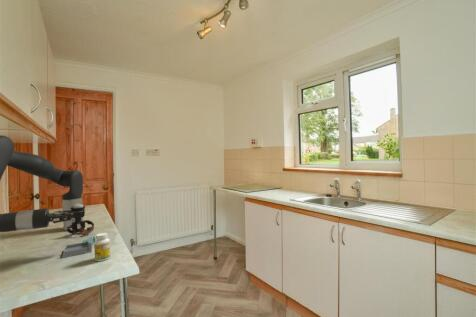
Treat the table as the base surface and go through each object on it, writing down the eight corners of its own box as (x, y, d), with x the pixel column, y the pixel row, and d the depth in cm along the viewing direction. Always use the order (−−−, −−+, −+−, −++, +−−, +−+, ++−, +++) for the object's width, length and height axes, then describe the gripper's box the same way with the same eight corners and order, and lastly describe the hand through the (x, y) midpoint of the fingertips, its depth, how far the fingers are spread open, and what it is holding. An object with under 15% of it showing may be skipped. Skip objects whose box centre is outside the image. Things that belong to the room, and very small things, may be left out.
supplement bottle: (113, 257, 96) (112, 233, 95) (100, 262, 91) (99, 237, 91) (105, 254, 98) (104, 231, 98) (91, 260, 93) (90, 235, 93)
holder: (65, 250, 104) (64, 241, 104) (92, 245, 109) (91, 236, 109) (62, 257, 97) (62, 247, 97) (91, 252, 102) (91, 242, 102)
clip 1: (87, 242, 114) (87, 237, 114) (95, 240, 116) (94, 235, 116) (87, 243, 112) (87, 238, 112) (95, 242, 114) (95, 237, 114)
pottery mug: (88, 231, 134) (94, 218, 132) (91, 242, 127) (97, 229, 126) (63, 230, 125) (68, 217, 124) (64, 243, 119) (70, 229, 117)
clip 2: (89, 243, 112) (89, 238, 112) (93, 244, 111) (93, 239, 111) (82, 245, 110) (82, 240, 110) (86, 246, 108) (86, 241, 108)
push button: (67, 231, 99) (66, 207, 98) (66, 228, 103) (66, 205, 103) (86, 228, 103) (86, 204, 103) (85, 225, 107) (84, 203, 107)
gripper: (28, 213, 89) (83, 207, 98) (36, 207, 102) (85, 202, 110) (28, 233, 89) (83, 225, 98) (37, 224, 102) (85, 218, 110)
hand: (84, 213), depth 104 cm, fingers closed on push button, 3 cm apart
